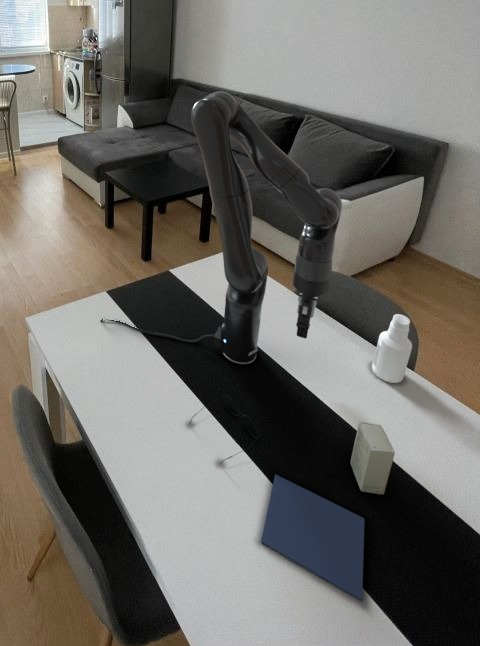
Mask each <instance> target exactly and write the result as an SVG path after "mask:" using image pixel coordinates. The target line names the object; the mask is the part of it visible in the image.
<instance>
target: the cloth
mask: <svg viewBox="0 0 480 646" xmlns="http://www.w3.org/2000/svg"><path fill="white" fill-rule="evenodd" d="M365 521H366V519H365V518H364V517H362V516H360V515H358V514H356V513H354V512H353V511H350V510H348V509H346V508H344V507H343V506H341V505H338V504H336V503H334V502H332V501H330V500H328V499H326V498H324V497H322V496H320V495H318V494H316V493H314V492H313V491H310V490H308V489H306V488H304V487H302V486H300V485H298V484H296V483H294V482H292V481H290V480H289V479H286V478H284V477H282V476H280V475H278V474H274V477H273V483H272V488H271V493H270V497H269V502H268V506H267V511H266V515H265V520H264V525H263V529H262V536H261V539H260V543H261V544H263V545H264V546H266V547H268V548H270V549H272V550H273V551H275V552H277V554H279V555H281V556H284V557H285V558H287V559H289V560H290V561H291V562H294V563H295V564H297V565H298V566H300V567H302V568H304V569H306V570H307V571H309V572H310V573H312V574H314V575H315V576H317V577H320V578H321V579H322V580H324V581H326V582H328V583H330V584H331V585H333V586H335V587H337V588H338V589H340V590H341V591H343V592H345V593H346V594H349V595H350V596H352V597H353V598H356V599H357V600H359V601H360V602H363V589H364V588H363V586H364V558H365V557H364V556H365V553H364V552H365V551H364V549H365V524H366V523H365Z"/></svg>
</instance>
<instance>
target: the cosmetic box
mask: <svg viewBox="0 0 480 646" xmlns="http://www.w3.org/2000/svg"><path fill="white" fill-rule="evenodd" d="M395 454H396V453H395V450H394V447H393V446H392V443H391V441H390V439H389V437H388V435H387V433H386V432H385V430H384V427H383V425H381V424H377V423H376V424H375V423H369V422H361V421H359V422H358V423H357V430H356V434H355V438H354V444H353V448H352V453H351V458H350V461H349V462H350V463H349V464H350V467H351V470H352V472H353V475H354V477H355V479H356V482H357V484H358V487H359V490H360V491H361V492H363V493H369V494H377V495H385V491H386V488H387V484H388V479H389V476H390V472H391V469H392V465H393V461H394V457H395Z"/></svg>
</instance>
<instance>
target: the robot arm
mask: <svg viewBox="0 0 480 646" xmlns="http://www.w3.org/2000/svg"><path fill="white" fill-rule="evenodd" d="M190 119H191V120H190V121H191V125H192V128H193V131H194V135H195V137H196V140H197V144H198V146H199V149H200V152H201V155H202V160H203V165H204V169H205V175H206V179H207V183H208V187H209V188H208V190H209V195H210V200H211V204H212V208H213V213H214V216H215V221H216V225H217V231H218V235H219V238H220V243H221V249H222V259H223V271H224V276H225V279H226V281H227V283H228V285H227V289H226V292H225V301H224V302H225V304H224V313H223V314H224V315H223V323H222V326H218V328H217V331H216V332H215V333H213V334H204V335H201V336H200V337H198V338H197V339H185V338H182V337H179V336H175V335H172V334H167V333H161V332H157V331H156V332H155V331H153V332H154V333H151V332H152V331H151V330H149V331H150V332H147V331H148V330H146V331H143V330H144V329H142V328H139V327H137V328H139V329H137V328H135V327H136V326H134V325H132V326H134V327H132V326H130V325H131V324H130V325H128V324H129V323H128V324H126V323H127V322H126V321H123V322H125V323H123V322H120V321H121V320H119V319H118V320H119V321H114V320H109V322H113V323H117V324H120V325H124V326H125V327H128V328H131V329H133V330H134V331H137V332H140V333H143V334H147V335H151V336H156V337H163V338H168V339H173V340H175V341H179V342H183V343H188V344H198V343H200V342H201V341H203V340H205V339H208V338H209V339H211V338H213V346H215V347H216V348H219V352H218V353H219V354H220V355H222V356H223V357H224V358H225V359H226V360H227V362H229V363H232V364H234V365H238V366H250V365H252V364H253V363H254V362H255V361H256V359H257V352H258V351H259V347H258V342H259V334H260V326H261V317H262V309H263V303H264V298H265V296H266V295H265V294H266V288H267V281H268V273H269V262H268V259H267V257H266V255H264V253H263V252H262V251H261V250H259V249H258V248H256V247H253V245H252V227H253V201H252V196H251V191H250V186H249V185H250V184H249V182H248V179H247V176H246V174H245V173H244V171H243V170H242V168H241V166H240V165H239V163H238V162H237V160H236V158H235V156H234V153H233V149H232V145H231V138H230V136H231V137H232V138H234V140H235V141H236V142H237V143H238V144H239V145H240V146H241V148H242V149H243V150H244V152H245V153H246V155H247V156H248V158H249V160H250V161H251V163H252V165H253V166H254V167H255V169H256V170H257V172H258V173H259V174H260V175H261V176H262V177H263V178H264V179H265V181H267V182H268V183H269V184H270V185H271V186H272V187H273V188H275V189H276V190H277V191H278V192H279V193H280V194H282V196H283V197H284V198H285V200H286V202H287V203H288V205H289V206H290V208H291V209H292V210H293V211H294V212H295V215H297V216H298V218H300V220H301V221H303V223H304V226H303V228H302V231H301V233H300V235H299V241H298V249H297V255H296V256H295V262H294V269H293V277H292V285H293V287H294V288H295V289H296V291H298V292H299V294H298V298H297V301H298V305H297V309H296V313H297V314H298V315H297V320H296V321H297V322H296V323H295V325H296V336H297V337H299V338H301V339H307V338H308V333H309V329H310V327H311V324H310V323H311V318H314V315H315V310H316V309H315V308H316V306H317V305H318V299H319V297H323V296H325V295H326V294H328V292H329V288H330V281H331V276H332V270H333V256H334V251H335V243H336V242H335V240H336V234H337V229H338V226H339V223H340V218H341V214H342V210H343V202H342V201H343V200H342V198H341V197H340V195H339V194H338V193H337V192H336V191H334V190H333V189H332V188H331V189H330V188H326V187H322V188H317V189H315V188H314V186H313V185H312V184H311V182H310V176H309V174H308V173H307V171H305V170H304V169H303V168H302V167H301V166H300V165H299V164H298V163H297V162H295V161H294V160H293V158H291V157H290V156H289V155H287V154H286V153H285V152H284V151H283V150H282V149H280V147H279V146H277V145H276V143H274V142H273V141H272V139H270V137H269V136H267V134H265V132H264V131H263V130H262V129H261V127H259V125H258V124H257V123H256V122H255V121H254V120H253V119H252V118H251V116H250V115H249V114H248V112H246V110H245V108H244V107H242V105H241V104H240V102H239V101H238V100H237V99H236V98H235V97H234V96H233V95H232V94H230V93H228V92H226V91H214V92H211V93H209V94H207V95H205V96H204V97H201V98H200V99H198V100H197V101H196V102H195V103H194V105H193V106H192V109H191V114H190ZM101 319H102V318H101ZM102 320H103V319H102ZM140 329H142V330H140Z"/></svg>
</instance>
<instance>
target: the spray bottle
mask: <svg viewBox="0 0 480 646" xmlns="http://www.w3.org/2000/svg"><path fill="white" fill-rule="evenodd" d="M410 324H411V320H410V318H408V316H406V315H404V314H400V313H396V314H394V315H393V317H392V319H391V321H390V324H389V327H388V329H387V330H383V331H382V332H380V334H379V336H378V339H377V344H376V348H375V352H374V356H373V360H372V364H371V370H372V372H373V373H374V374H375V375H376V376H377V377H378V378H379V379H381V380H383V381H384V382H386V383H390V384H398V383H401V382H402V381H403V380H404V377H405V373H406V371H407V368H408V367H407V366H408V363H409V360H410V356H411V353H412V350H413V343H412V342H411V340H410V339H409V338H408V337H409V333H410Z"/></svg>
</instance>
